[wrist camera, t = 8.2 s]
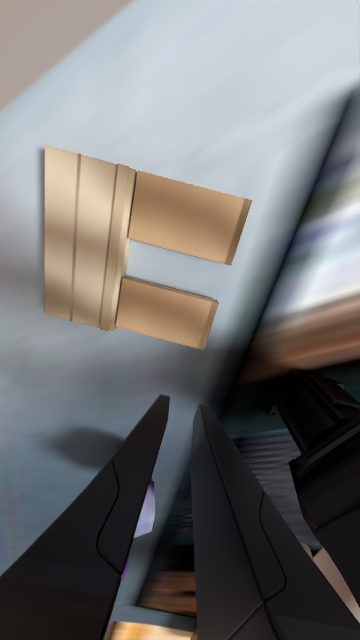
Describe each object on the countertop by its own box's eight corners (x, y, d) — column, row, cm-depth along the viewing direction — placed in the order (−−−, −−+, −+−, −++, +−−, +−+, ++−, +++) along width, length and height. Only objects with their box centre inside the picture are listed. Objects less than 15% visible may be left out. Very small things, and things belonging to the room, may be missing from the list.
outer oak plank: (228, 264, 18) (231, 265, 16) (133, 239, 18) (128, 238, 16) (247, 205, 16) (252, 200, 15) (142, 177, 16) (137, 170, 15)
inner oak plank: (203, 343, 21) (203, 350, 19) (120, 322, 21) (115, 326, 19) (217, 300, 19) (218, 303, 18) (127, 276, 19) (122, 278, 18)
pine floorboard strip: (118, 325, 21) (111, 332, 19) (54, 310, 21) (42, 315, 19) (139, 176, 16) (133, 168, 14) (57, 154, 16) (41, 142, 14)
